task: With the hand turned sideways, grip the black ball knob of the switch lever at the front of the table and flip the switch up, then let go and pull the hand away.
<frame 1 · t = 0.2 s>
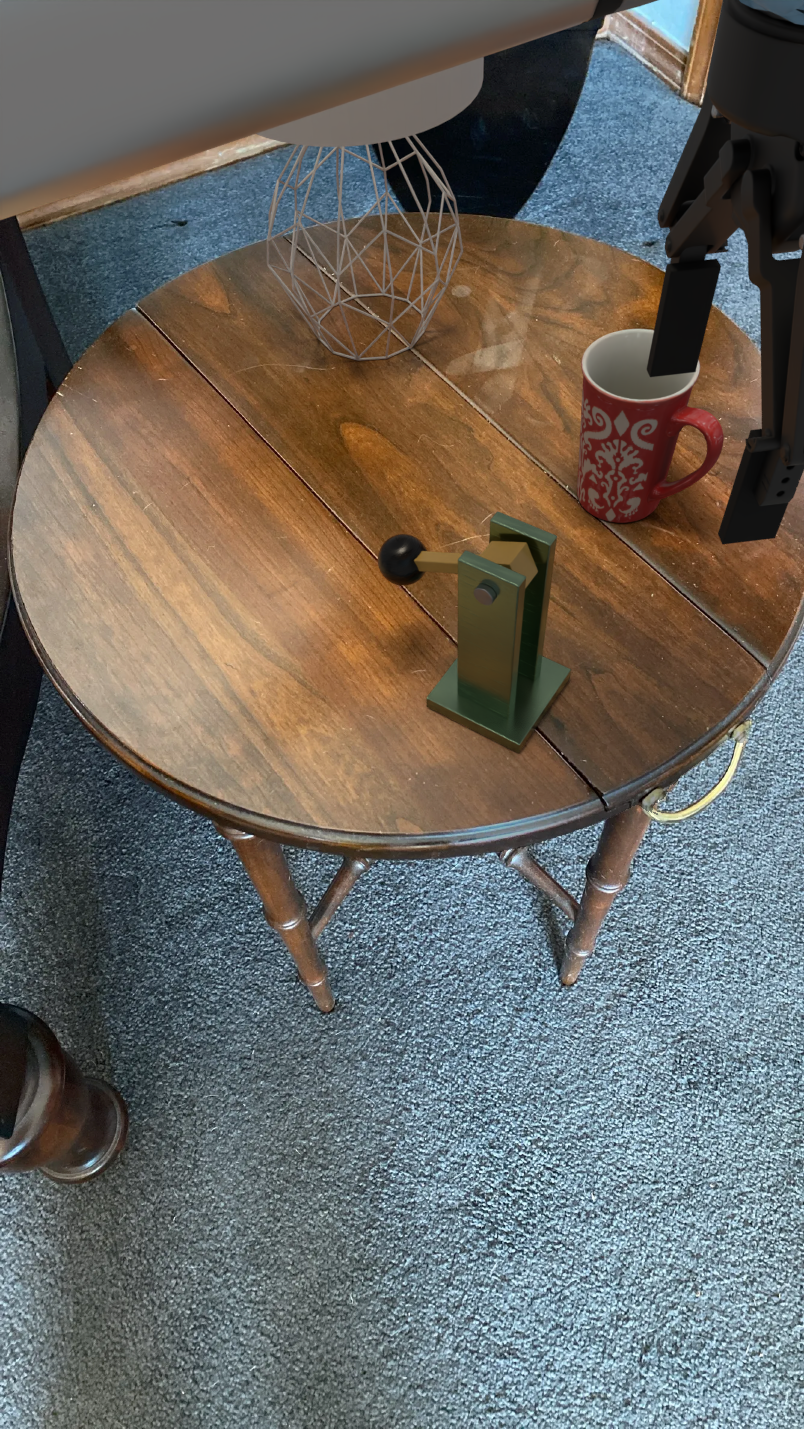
hand: (705, 448, 53), 24 cm above the table, tool pointing down, fingers open, 13 cm apart
mug: (632, 506, 85), on the table
table lamp: (370, 327, 101), on the table
switch bracket: (498, 692, 74), on the table
switch lever: (450, 563, 66), point 12 cm above the table, hinge at -25.0°
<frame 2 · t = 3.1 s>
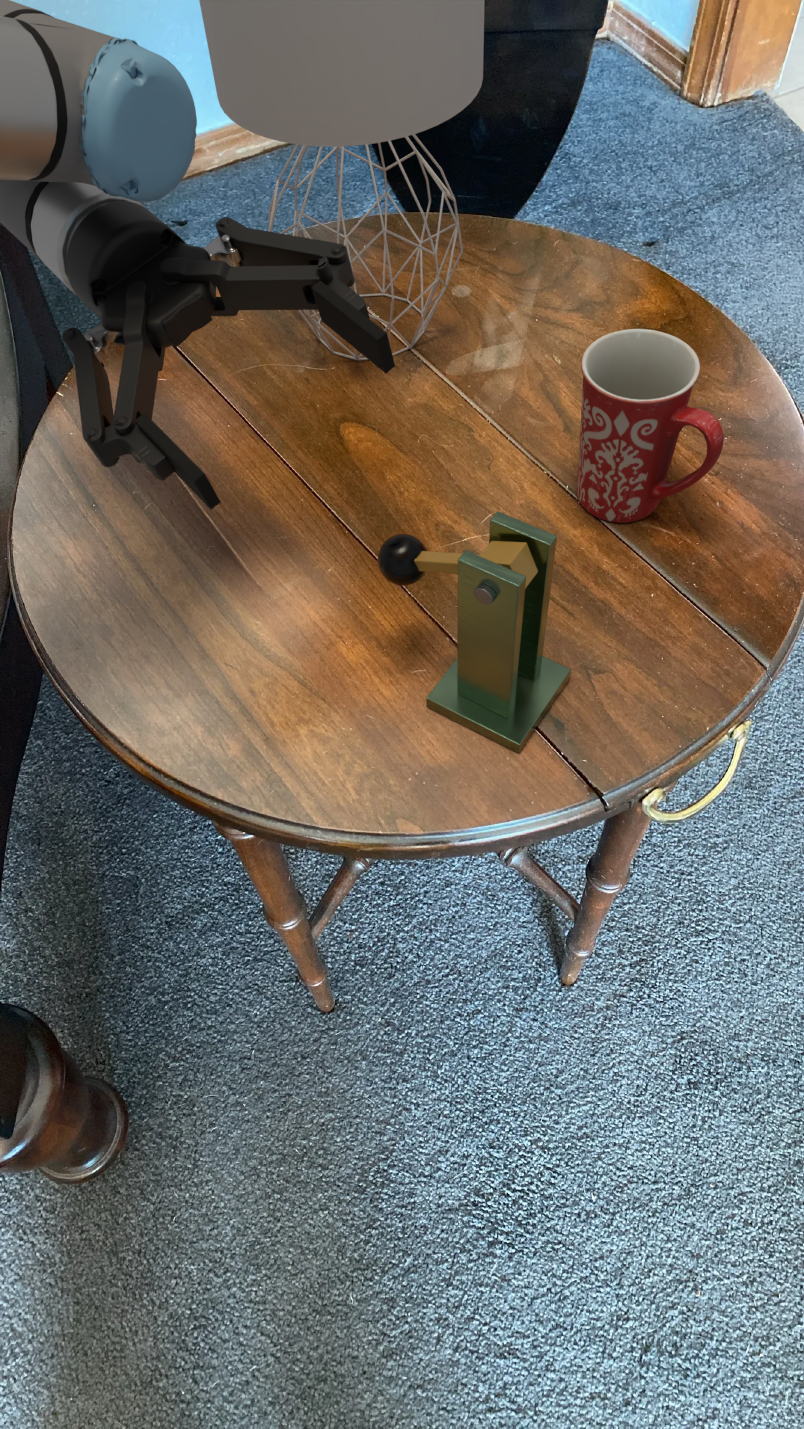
hand: (299, 422, 57), 23 cm above the table, tool horizontal, fingers open, 13 cm apart
nothing on the table moved.
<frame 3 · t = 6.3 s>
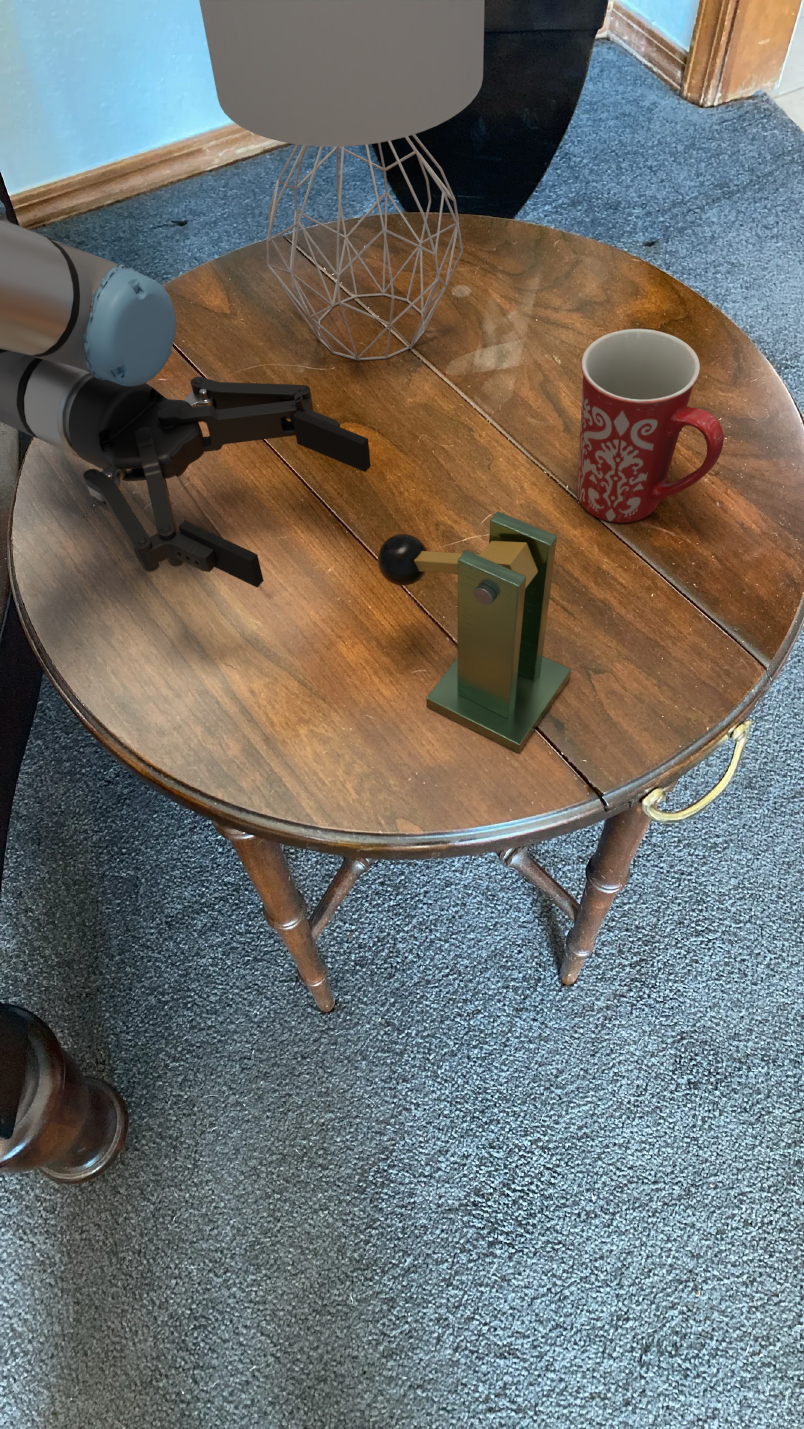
hand: (314, 511, 70), 11 cm above the table, tool horizontal, fingers open, 13 cm apart
nothing on the table moved.
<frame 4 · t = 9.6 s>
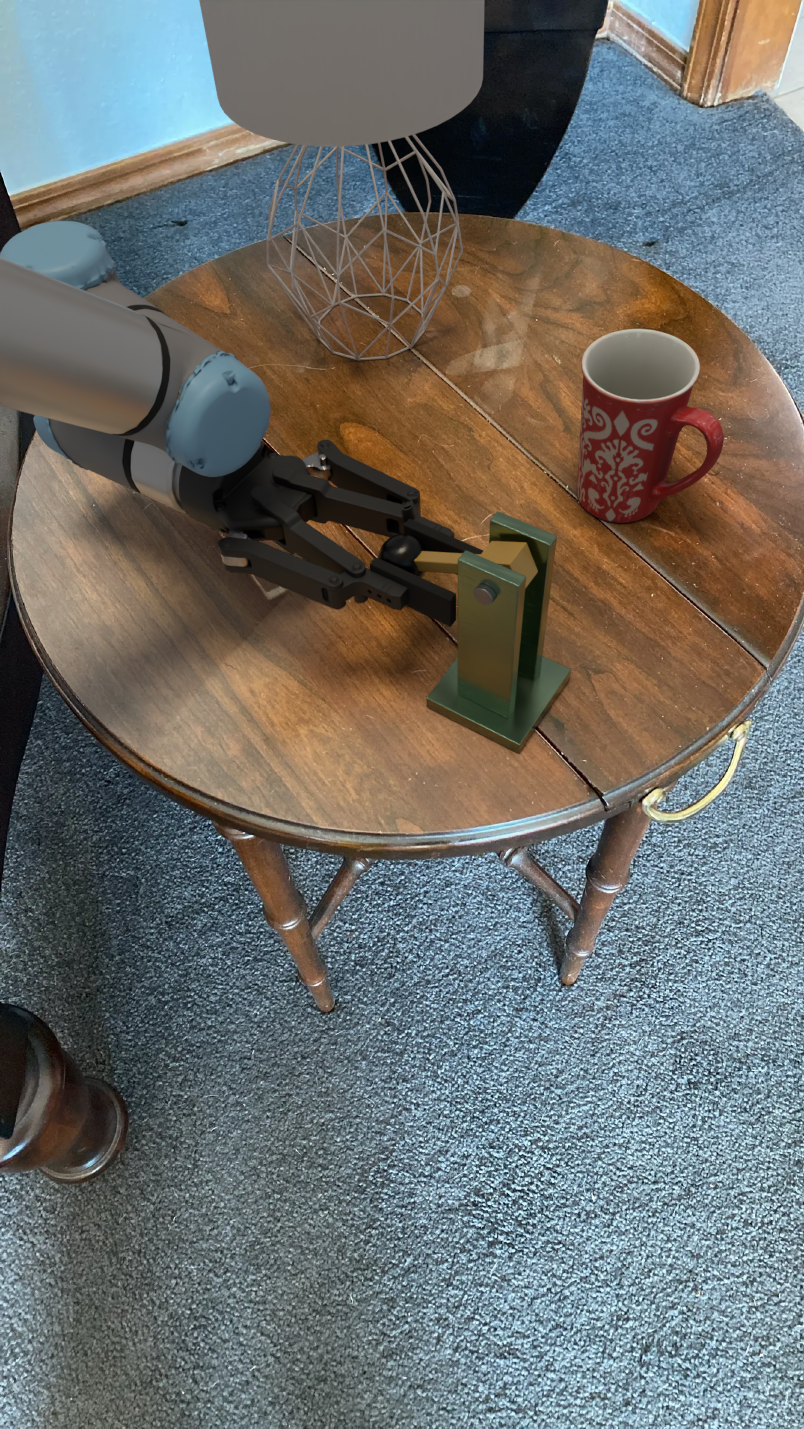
hand: (469, 589, 67), 10 cm above the table, tool horizontal, fingers closed on switch lever, 4 cm apart
switch lever: (450, 563, 66), point 12 cm above the table, hinge at -25.0°, touching gripper
everything else where it was.
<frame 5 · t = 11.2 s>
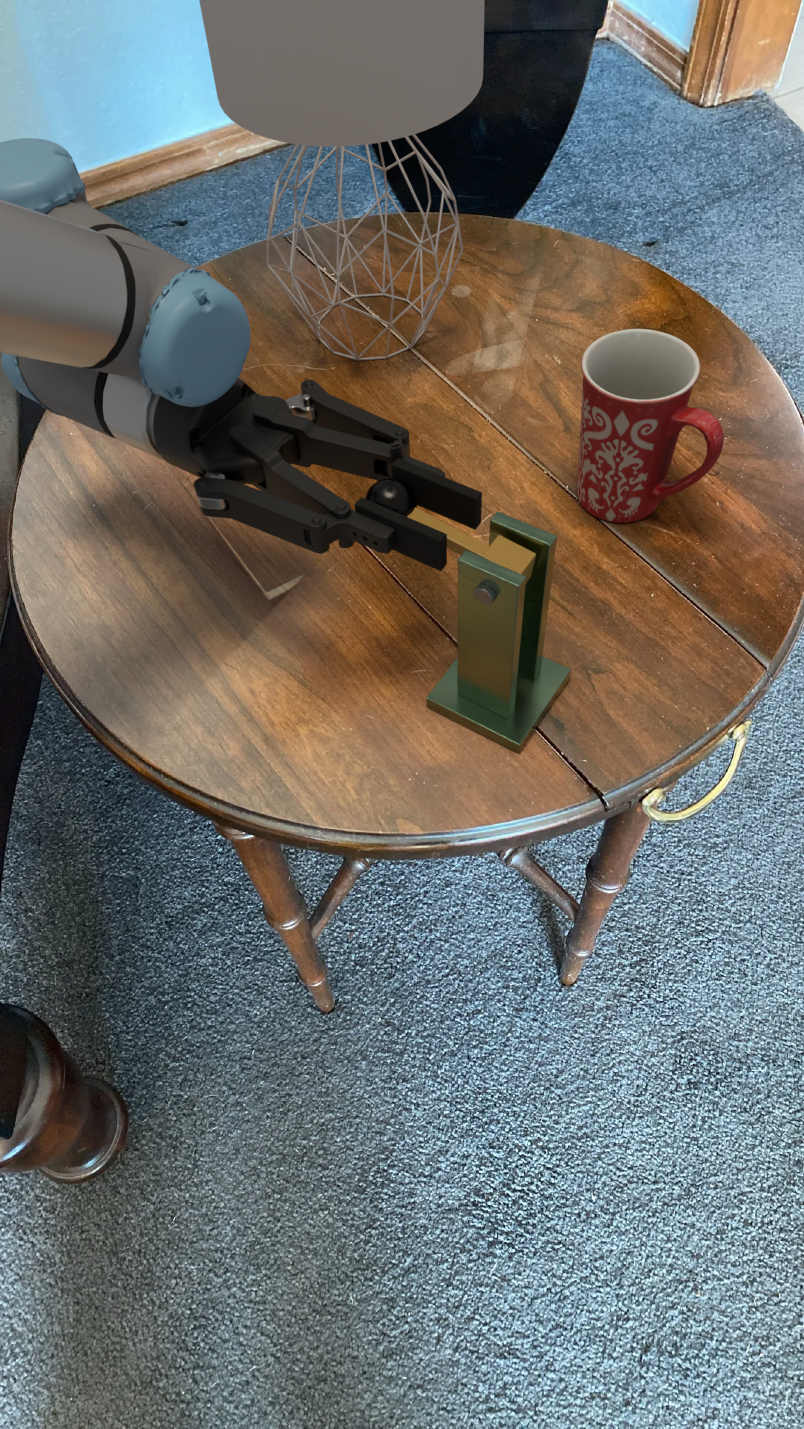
hand: (460, 531, 62), 15 cm above the table, tool horizontal, fingers closed on switch lever, 4 cm apart
switch lever: (444, 534, 64), point 15 cm above the table, hinge at 6.2°, touching gripper
everything else where it was.
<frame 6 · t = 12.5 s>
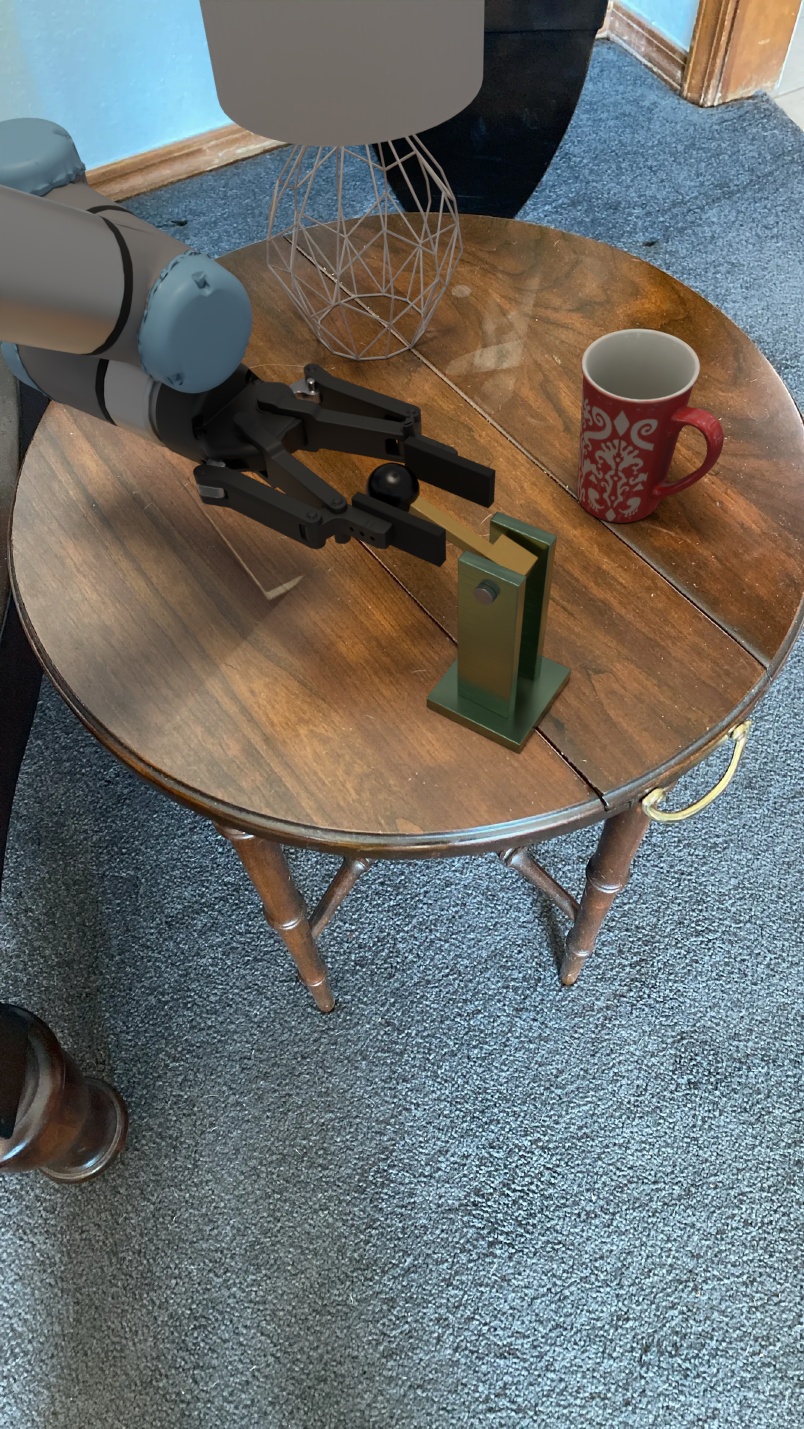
hand: (467, 518, 61), 17 cm above the table, tool horizontal, fingers open, 5 cm apart
switch lever: (446, 526, 63), point 15 cm above the table, hinge at 15.7°
everything else where it was.
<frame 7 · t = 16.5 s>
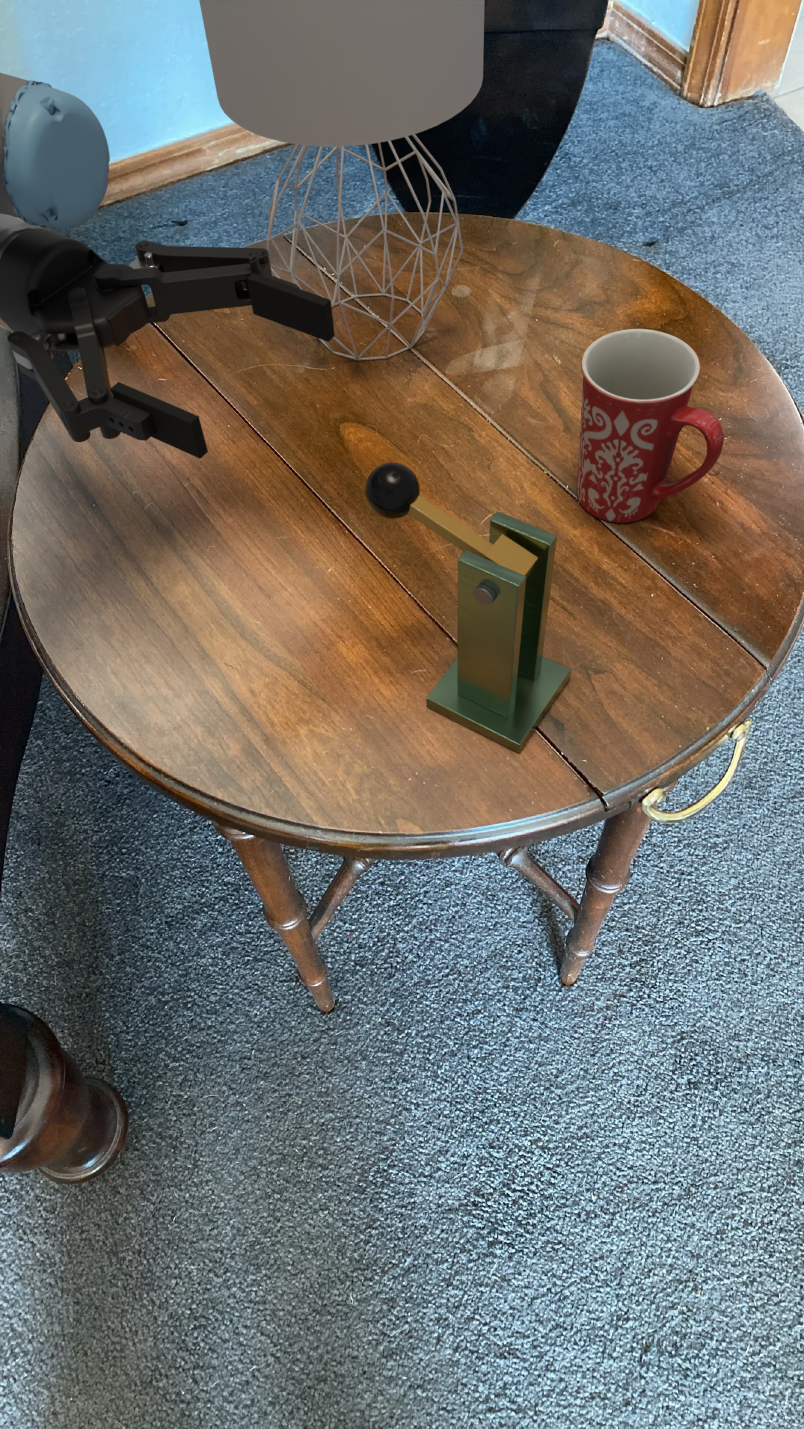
hand: (268, 376, 62), 22 cm above the table, tool horizontal, fingers open, 13 cm apart
nothing on the table moved.
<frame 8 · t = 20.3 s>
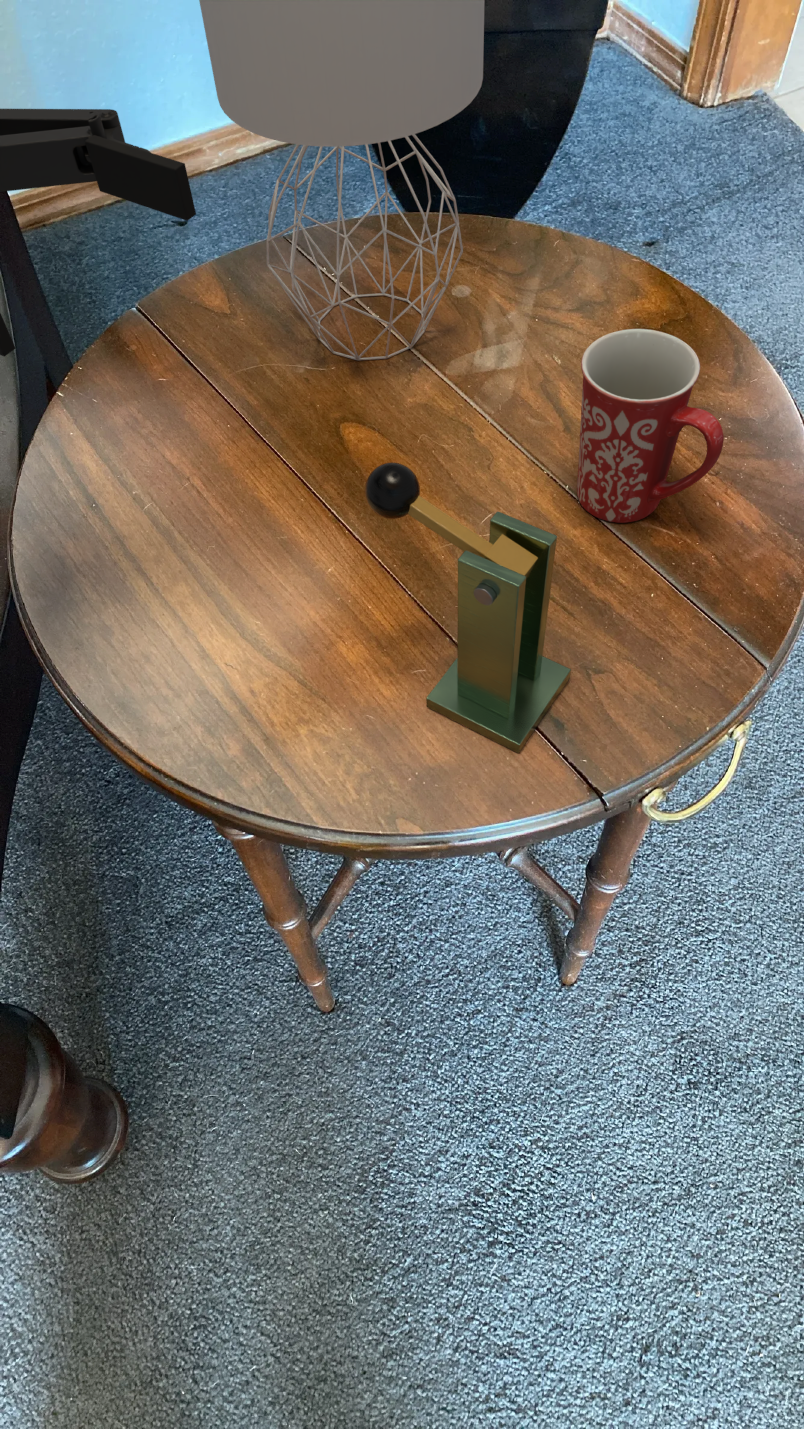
hand: (99, 256, 49), 34 cm above the table, tool horizontal, fingers open, 13 cm apart
nothing on the table moved.
at the end: switch lever at +16° (first picture: -25°); the gripper is holding nothing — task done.
